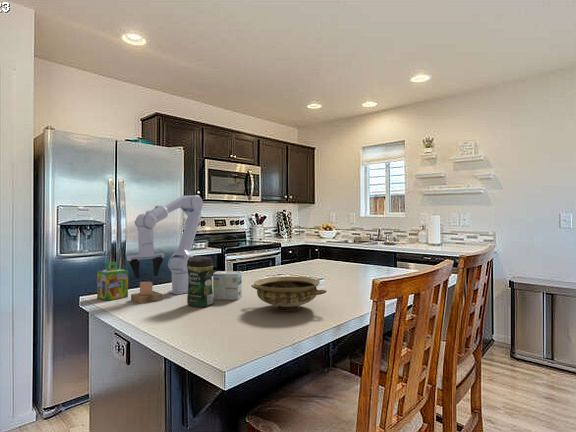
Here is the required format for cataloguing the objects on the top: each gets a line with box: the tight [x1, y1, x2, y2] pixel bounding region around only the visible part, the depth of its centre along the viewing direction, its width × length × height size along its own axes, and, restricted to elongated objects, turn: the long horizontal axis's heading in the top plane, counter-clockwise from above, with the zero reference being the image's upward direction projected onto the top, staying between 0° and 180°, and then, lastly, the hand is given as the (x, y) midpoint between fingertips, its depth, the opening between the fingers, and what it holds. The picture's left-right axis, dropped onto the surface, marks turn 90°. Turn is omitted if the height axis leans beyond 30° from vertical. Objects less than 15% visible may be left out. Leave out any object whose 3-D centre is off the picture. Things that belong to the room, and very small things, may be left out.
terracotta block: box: [139, 281, 153, 295], centre depth 147 cm, size 4×4×4 cm
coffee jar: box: [186, 255, 214, 308], centre depth 139 cm, size 10×8×19 cm
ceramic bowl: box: [251, 276, 327, 312], centre depth 132 cm, size 30×24×10 cm
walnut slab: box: [130, 290, 163, 305], centre depth 148 cm, size 9×9×3 cm
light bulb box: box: [212, 270, 243, 301], centre depth 150 cm, size 11×7×11 cm, turn 84°
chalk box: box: [96, 261, 129, 301], centre depth 153 cm, size 9×9×15 cm
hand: (146, 276), depth 148 cm, fingers open, 7 cm apart
